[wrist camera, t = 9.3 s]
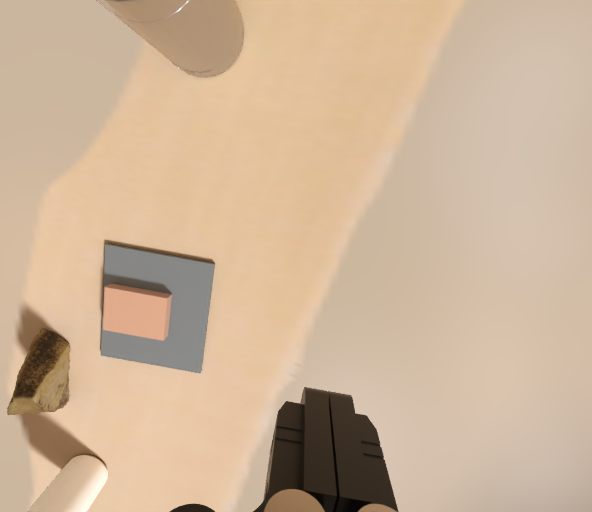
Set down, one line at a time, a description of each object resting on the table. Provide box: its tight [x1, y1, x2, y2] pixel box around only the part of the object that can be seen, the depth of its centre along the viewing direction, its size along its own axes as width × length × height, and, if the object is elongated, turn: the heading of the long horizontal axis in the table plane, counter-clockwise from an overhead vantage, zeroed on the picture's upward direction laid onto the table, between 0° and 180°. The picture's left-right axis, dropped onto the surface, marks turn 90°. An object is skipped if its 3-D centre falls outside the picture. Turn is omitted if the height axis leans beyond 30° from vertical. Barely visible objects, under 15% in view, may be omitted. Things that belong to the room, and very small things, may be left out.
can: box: [27, 455, 108, 512], centre depth 46 cm, size 6×6×12 cm
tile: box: [103, 283, 172, 341], centre depth 43 cm, size 6×2×8 cm
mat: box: [101, 244, 215, 373], centre depth 45 cm, size 16×14×1 cm
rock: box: [7, 329, 70, 415], centre depth 45 cm, size 11×9×10 cm
